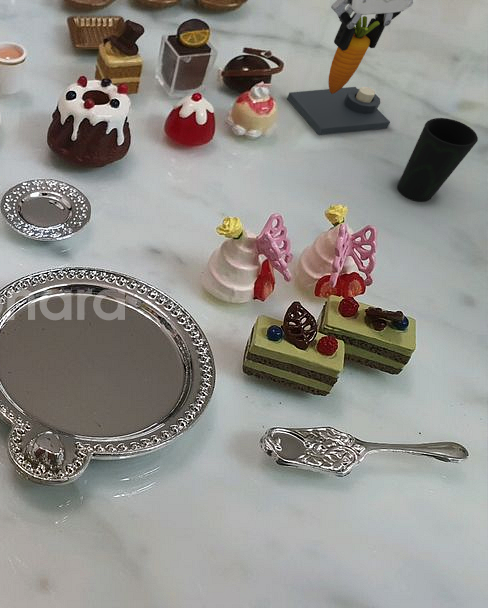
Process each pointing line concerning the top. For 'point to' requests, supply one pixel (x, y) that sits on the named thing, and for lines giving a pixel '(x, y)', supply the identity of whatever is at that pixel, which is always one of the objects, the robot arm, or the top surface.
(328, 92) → the scale
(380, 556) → the top surface
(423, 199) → the cup
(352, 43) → the carrot
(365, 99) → the button
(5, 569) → the top surface
